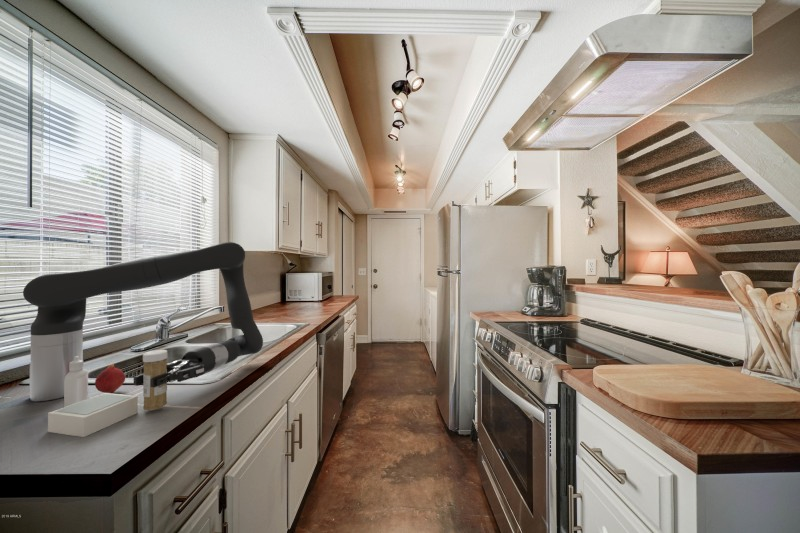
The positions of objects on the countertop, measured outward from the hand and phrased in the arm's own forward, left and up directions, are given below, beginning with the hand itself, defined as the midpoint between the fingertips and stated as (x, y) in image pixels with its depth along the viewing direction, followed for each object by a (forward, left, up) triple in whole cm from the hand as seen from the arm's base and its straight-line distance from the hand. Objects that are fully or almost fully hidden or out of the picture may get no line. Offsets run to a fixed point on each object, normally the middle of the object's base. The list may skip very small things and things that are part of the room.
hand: (143, 382), depth 67 cm
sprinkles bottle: (0, +3, -7) cm, 8 cm away
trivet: (-8, -4, -8) cm, 12 cm away
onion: (-22, +8, -8) cm, 25 cm away
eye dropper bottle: (-24, +2, -8) cm, 25 cm away
